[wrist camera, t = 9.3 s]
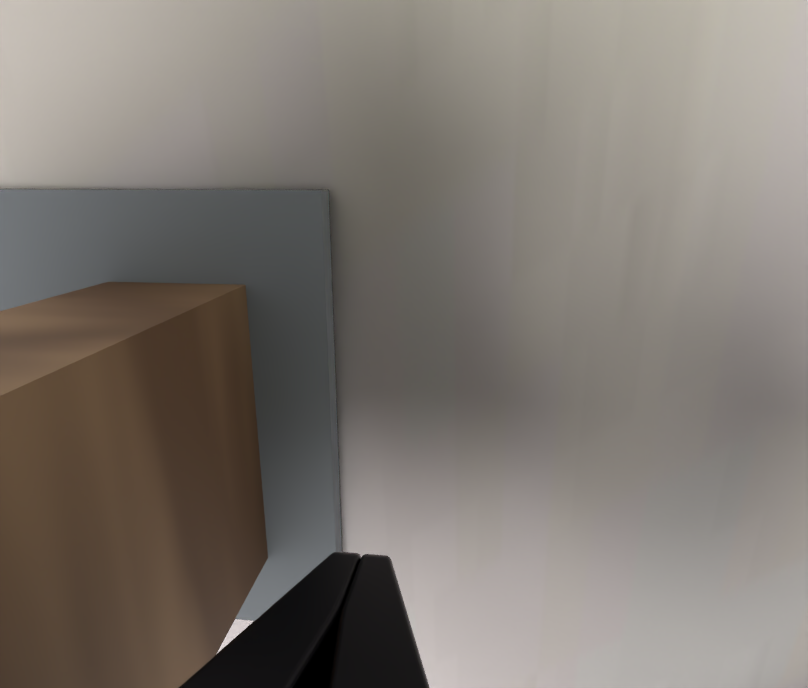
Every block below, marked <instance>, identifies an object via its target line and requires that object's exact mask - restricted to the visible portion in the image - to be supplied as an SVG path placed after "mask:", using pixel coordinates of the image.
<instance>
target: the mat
mask: <svg viewBox="0 0 808 688" xmlns="http://www.w3.org/2000/svg"><path fill="white" fill-rule="evenodd" d="M105 282H145V283H191V284H237V285H246V297H247V310H248V322H249V334H250V346H251V358H252V370H253V382H254V394H255V406H256V418H257V430H258V442H259V454H260V466H261V478H262V490H263V502H264V514H265V526H266V538H267V550H268V559H267V561H266V562H265V564H264V566H263V568H262V570H261V572H260V574H259V575H258V577H257V579H256V581H255V583H254V585H253V587H252V588H251V590H250V592H249V594H248V596H247V598H246V600H245V601H244V603H243V605H242V607H241V609H240V611H239V613H238V614H237V616H236V618H235V619H242V620H253V621H255V620H256V619H257V618H259V617H260V616H261V615H262V614H263V613H264V612H265V611H266V610H268V609H269V608H270V607H271V606H272V605H273V604H274V603H276V602H277V601H278V600H279V599H280V598H281V597H282V596H284V595H285V594H286V593H287V592H288V591H289V590H290V589H292V588H293V587H294V586H295V585H296V584H297V583H298V582H300V581H301V580H302V579H303V578H304V577H305V576H306V575H308V574H309V573H310V572H311V571H312V570H313V569H314V568H316V567H317V566H318V565H319V564H320V563H321V562H322V561H323V560H325V559H326V558H327V557H328V556H329V555H330V554H332V553H334V552H342V538H341V511H340V484H339V457H338V430H337V403H336V376H335V349H334V321H333V294H332V267H331V240H330V213H329V190H143V189H0V311H3V310H6V309H10V308H14V307H17V306H21V305H25V304H28V303H32V302H36V301H39V300H43V299H47V298H50V297H54V296H58V295H61V294H65V293H69V292H72V291H76V290H80V289H83V288H87V287H91V286H94V285H98V284H101V283H105Z"/></svg>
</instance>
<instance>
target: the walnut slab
mask: <svg viewBox="0 0 808 688" xmlns="http://www.w3.org/2000/svg"><path fill="white" fill-rule="evenodd" d="M267 559H268V550H267V538H266V526H265V514H264V502H263V490H262V478H261V466H260V454H259V442H258V430H257V418H256V406H255V394H254V382H253V370H252V358H251V346H250V334H249V322H248V310H247V297H246V285H237V284H191V283H145V282H105V283H101V284H98V285H94V286H91V287H87V288H83V289H80V290H76V291H72V292H69V293H65V294H61V295H58V296H54V297H50V298H47V299H43V300H39V301H36V302H32V303H28V304H25V305H21V306H17V307H14V308H10V309H6V310H3V311H0V688H179V687H180V686H181V685H182V684H183V683H184V682H186V681H187V680H188V679H189V678H190V677H191V676H192V675H194V674H195V673H196V672H197V671H198V670H199V669H200V668H202V667H203V666H204V665H205V664H206V663H207V662H208V661H210V660H211V659H212V658H213V657H214V656H215V655H216V653H217V652H218V650H219V648H220V646H221V644H222V642H223V640H224V639H225V637H226V635H227V633H228V631H229V629H230V627H231V626H232V624H233V622H234V620H235V618H236V616H237V614H238V613H239V611H240V609H241V607H242V605H243V603H244V601H245V600H246V598H247V596H248V594H249V592H250V590H251V588H252V587H253V585H254V583H255V581H256V579H257V577H258V575H259V574H260V572H261V570H262V568H263V566H264V564H265V562H266V561H267Z"/></svg>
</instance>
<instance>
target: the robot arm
mask: <svg viewBox="0 0 808 688" xmlns="http://www.w3.org/2000/svg"><path fill="white" fill-rule="evenodd" d="M179 688H429V684H428V681H427V678H426V674H425V671H424V668H423V664H422V661H421V658H420V654H419V651H418V648H417V645H416V641H415V638H414V635H413V631H412V628H411V625H410V621H409V618H408V615H407V611H406V608H405V605H404V601H403V598H402V595H401V591H400V588H399V585H398V581H397V578H396V575H395V571H394V568H393V565H392V561H391V559H390V557H388V556H385V555H373V554H365V555H363V556H362V557H361V556H360V555H359V554H358V553H348V552H334V553H332V554H330V555H329V556H328V557H327V558H326V559H325V560H323V561H322V562H321V563H320V564H319V565H318V566H317V567H316V568H314V569H313V570H312V571H311V572H310V573H309V574H308V575H306V576H305V577H304V578H303V579H302V580H301V581H300V582H298V583H297V584H296V585H295V586H294V587H293V588H292V589H290V590H289V591H288V592H287V593H286V594H285V595H284V596H282V597H281V598H280V599H279V600H278V601H277V602H276V603H274V604H273V605H272V606H271V607H270V608H269V609H268V610H266V611H265V612H264V613H263V614H262V615H261V616H260V617H259V618H257V619H256V620H255V621H254V622H253V623H252V624H251V625H249V626H248V627H247V628H246V629H245V630H244V631H243V632H241V633H240V634H239V635H238V636H237V637H236V638H235V639H233V640H232V641H231V642H230V643H229V644H228V645H227V646H225V647H224V648H223V649H222V650H221V651H220V652H219V653H217V654H216V655H215V656H214V657H213V658H212V659H211V660H210V661H208V662H207V663H206V664H205V665H204V666H203V667H202V668H200V669H199V670H198V671H197V672H196V673H195V674H194V675H192V676H191V677H190V678H189V679H188V680H187V681H186V682H184V683H183V684H182V685H181V686H180V687H179Z"/></svg>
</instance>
